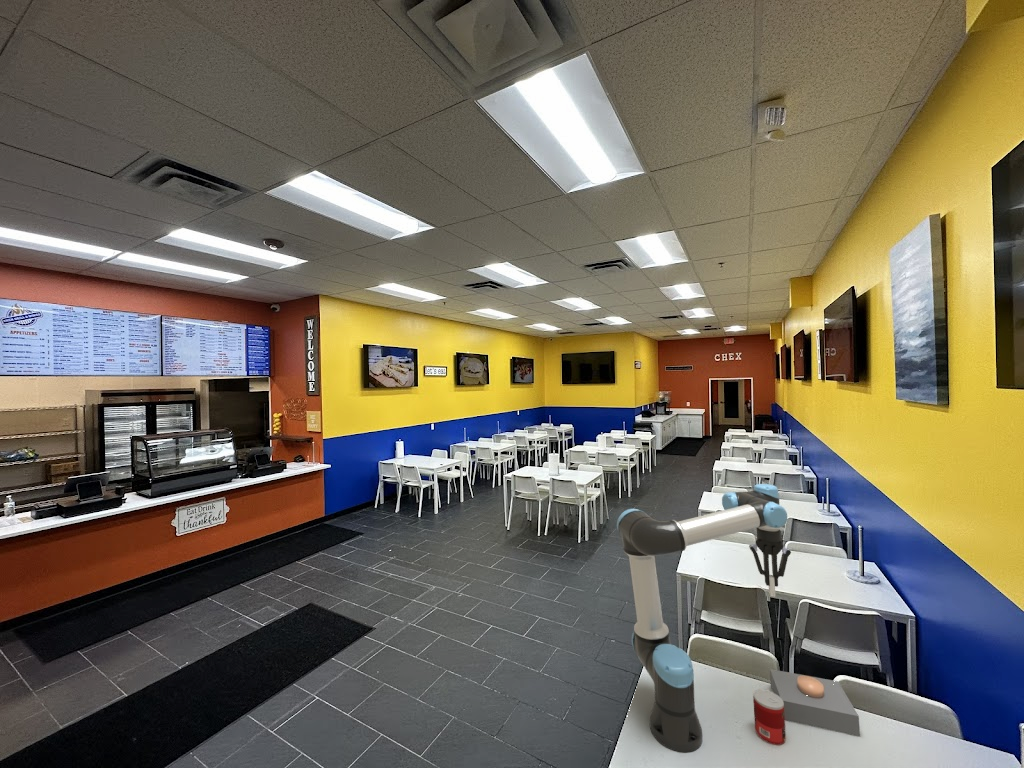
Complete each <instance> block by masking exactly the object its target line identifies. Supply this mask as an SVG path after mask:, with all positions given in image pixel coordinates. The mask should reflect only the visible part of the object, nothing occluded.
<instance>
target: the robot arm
mask: <svg viewBox="0 0 1024 768" xmlns="http://www.w3.org/2000/svg"><path fill="white" fill-rule="evenodd" d="M721 505H722V508H723V509H722V510H719V511H716V512H712V513H707V514H704V515H700V516H695V517H692V518H687V519H683V520H680V521H677V520H675V519H670V520H656V519H654V518H653V517H652V516H650V515H648V513H646V512H645V511H643V510H640V509H636V508H628V509H626V510H624V511H622V513H621V514H620V515H619V516H618V518H617V521H616V529H617V532H618V534H619V535H620V537H621V539H622V546H623V552H624V553H625V554H626V555H627V556H628V559H629V567H630V575H631V583H632V589H633V590H632V591H633V596H634V606H635V613H636V614H635V615H636V622H635V624H634V626H633V632H632V634H631V646H632V649H633V651H634V653H635V656H636V657H637V658H638V659H637V660H638V661H640V662H641V664H642V666H643V668H644V670H646V672H647V673H648V675H649V676H650V678H651V679H652V682H653V687H654V703H653V707H652V710H651V712H650V716H649V717H650V718H649V721H650V722H649V726H650V731H651V734H652V735H653V736H654V738H655V739H656V740H657V741H658V742H659V743H660V744H662V745H663V746H664V747H666V748H668V749H670V750H672V751H677V752H679V753H688V752H689V753H690V752H694V751H696V750H697V749H699V748H700V747H701V746H702V744H703V729H702V725H701V723H700V719H699V717H698V714H697V711H696V708H695V707H696V705H695V702H696V700H695V683H694V677H695V672H694V667H693V662H692V659H691V657H690V656H689V655H688V653H687V652H686V651H685V650H684V649H682V648H681V647H677V646H676V645H674V644H672V643H671V638H670V637H671V636H670V629H669V627H668V625H667V624H666V623H664V620H663V613H662V604H661V598H660V596H661V595H660V588H659V582H658V575H657V573H658V572H657V568H656V567H657V565H656V558H655V557H659V556H665V555H667V556H669V555H671V554H676V553H679V552H683V551H685V550H686V548H687V547H688V546H692V545H696V544H699V543H700V544H701V543H705V542H708V541H711V540H715V539H720V538H724V537H727V536H729V535H730V536H731V535H735V534H737V533H741V532H745V531H748V530H749V531H751V530H754V529H756V541H755V543H754V544H749V546H748V548H749V549H750V551H751V553H752V556H753V558H754V560H755V561H754V562H755V564H756V567H757V570H758V572H759V574H760V575H762V576H764V583H765V585H766V586H768V594H769V596H770V597H774V598H776V587H779V577H780V578H781V577H782V578H783V577H784V576H785V571H786V567H787V562H788V560H789V557H790V555H791V553H792V551H791V550H790V549H789V548H788V547H786V546H784V544H783V542H782V541H783V540H782V531H781V528H782V527H783V526H785V524H787V522H788V513H787V511H786V508H784V507H783V506H782V505H780V494H779V489H778V487H777V486H776V485H773V484H769V483H768V484H767V483H757V484H755V485H754V486H753V490H751V491H731V492H725V493H724V494H723V496H722V497H721ZM758 550H760V552H761V554H762V557H763V558H762V559H763V567H762V564H761V561H760V558H759V555H758V552H757V551H758ZM780 552H782V554H781V558H780V563H779V565H778V554H779V553H780ZM770 556H771V569H772V570H771V571H772V572H771V573H772V574H770V560H769V559H770ZM778 566H779V567H778Z"/></svg>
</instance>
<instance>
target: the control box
mask: <svg viewBox="0 0 1024 768" xmlns="http://www.w3.org/2000/svg"><path fill="white" fill-rule="evenodd" d="M802 675H804V674H800V673H794V672H788V671H782V670H777V669H772V668H770V669H769V677H770V687H771V692H773V693H775V694H776V695H778V696H779V697H780V698H781V699H782V700H783V703H784V715H785V722H791V723H796V724H800V725H805V726H810V727H815V728H819V729H823V730H827V731H833V732H838V733H843V734H847V735H852V736H854V737H855V736H856V737H861V734H860V733H861V731H860V716H859V715H858V713H857V711H856V709H855V708H854V705H853V704H852V702H851V700H850V699H849V697H848V696H847V694H846V692H845V690H844V689H843V687H842V685H841V683H840V682H839V680H838V681H837V680H832V679H827V678H826V679H825V678H821V677H817V676H811V675H809V676H810V677H813V678H815V679H817V680H818V681H820V682H821V683H822V684H823V687H824V696H823V697H821V698H814V697H811V696H806V694H804V693H803V692H801V691H800V690H799V688H798V683H797V678H798V677H799V676H802ZM804 676H806V674H805V675H804ZM834 681H835V682H834ZM833 684H834V685H833Z"/></svg>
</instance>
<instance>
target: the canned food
mask: <svg viewBox="0 0 1024 768" xmlns="http://www.w3.org/2000/svg"><path fill="white" fill-rule="evenodd" d="M752 695H753V696H752V697H753V715H754V717H753V719H754V728H755V732H756V734H757V736H758V737H759V738H760V739H762V740H763V741H765V742H766V743H769V744H771V745H776V746H777V745H783V744H784V743H785V742H786V735H787V734H786V720H785V715H784V703H783V700H782V699H781V698H780V697H779V696H778V695H776V694H775V693H773V691H770V690H767V689H757V690H755V691H754V692H753V694H752Z"/></svg>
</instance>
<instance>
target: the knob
mask: <svg viewBox="0 0 1024 768" xmlns="http://www.w3.org/2000/svg"><path fill="white" fill-rule="evenodd" d="M801 675H802V676H799V677H798V678H797V683H798V688H799V690H800V691H801V692H803V693H804V694H806V695H808V696H811V697H814V698H821V697H823V696H824V687H823V684H822V683H821V682H820V681H818V680H817V679H815V678H813V677H814V676H811V675H805V676H804V674H801ZM810 676H811V677H810Z"/></svg>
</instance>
